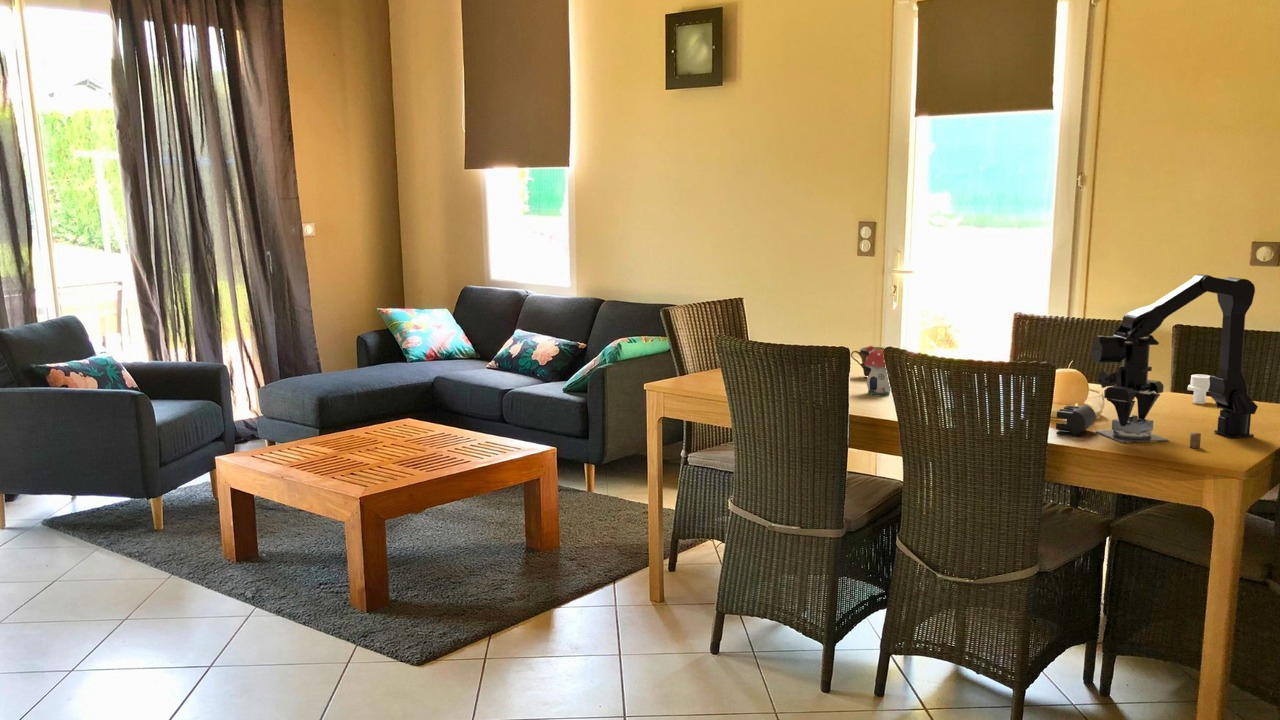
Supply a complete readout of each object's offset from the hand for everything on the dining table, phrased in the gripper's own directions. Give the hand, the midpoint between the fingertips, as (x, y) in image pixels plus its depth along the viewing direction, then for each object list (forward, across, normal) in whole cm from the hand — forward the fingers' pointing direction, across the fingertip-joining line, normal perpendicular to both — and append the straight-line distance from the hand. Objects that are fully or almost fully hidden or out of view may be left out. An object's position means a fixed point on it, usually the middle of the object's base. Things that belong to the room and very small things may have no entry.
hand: (1132, 423), depth 256 cm
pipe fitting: (+4, -57, -9) cm, 58 cm away
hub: (+3, 0, 0) cm, 3 cm away
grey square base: (+2, 0, 0) cm, 2 cm away
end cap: (+4, +6, -12) cm, 14 cm away
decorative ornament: (+4, +2, -79) cm, 80 cm away
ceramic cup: (+4, -20, -100) cm, 103 cm away
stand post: (+3, 0, +15) cm, 16 cm away
